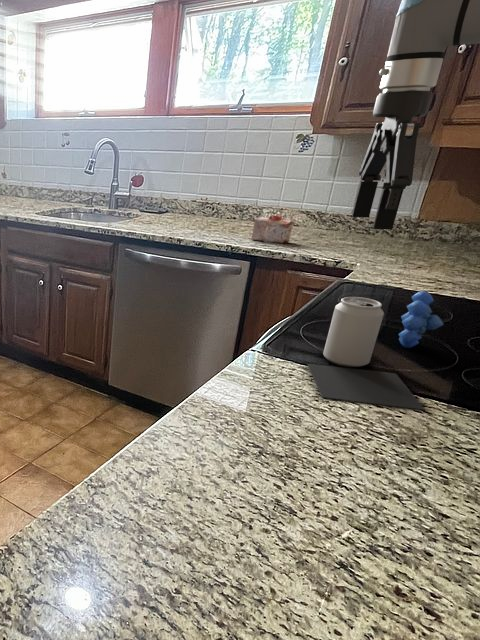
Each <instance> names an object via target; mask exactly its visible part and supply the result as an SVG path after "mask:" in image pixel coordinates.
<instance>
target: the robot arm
mask: <svg viewBox="0 0 480 640" xmlns="http://www.w3.org/2000/svg"><path fill="white" fill-rule="evenodd" d="M398 7H399V8H398V11H397V13H396V14H395V20H394V26H393V29H392V33H391V39H390V43H389V46H388V51H387V56H386V60H385V65H384V68H381V69H380V70H379V76H382V77H381V81H380V84H379V89H380V90H382V92H380V93H379V94H378V95H376V99H375V103H374V106H373V111H372V117H374V118H384V120H383V122H377V123H376V124H375V126H374V131H373V134H372V137H371V140H370V142H369V145H368V148H367V150H366V153H365V155H364V158H363V161H362V163H361V166H360V168H359V170H358V172H357V173H358V177H359V178H360V179H359V180H360V181H359V186H358V190H357V194H356V198H355V201H354V206H353V209H352V212H351V213H352V214H351V217H352V218H364V219H365V218H366V219H367V218H368V219H369V218H370V214H371V211H372V207H373V203H374V201H375V196H376V192H377V189H378V184H379V182H381V181H382V175H381V172H382V171H383V169H384V167H385V164H386V167H385V168H386V169H385V172H386V173H385V182H383V183H382V185H381V186H380V189H381V194H380V197H379V202H378V205H377V208H376V213H375V215H374V216H375V217H374V221H373V223H372V229H373V230H387V231H388V230H390V231H392V230H393V228H394V225H395V222H396V218H397V214H398V210H399V207H400V204H401V200H402V197H403V193H404V190H405V189H406V187H410V186H411V185H412V183H413V175H414V168H415V158H416V149H417V140H418V135H419V132H420V128H421V123H420V122H413V118H417V117H418V118H420V117H425V116H426V115H428V113H429V109H430V105H431V102H432V99H433V96H434V93H433V91H431V88H434V87H435V86H437V84H438V80H439V76H440V73H441V69H442V65H443V62H444V57H445V51H446V50H447V48H448V47H451V46H454V47H457V46H466V45H479V44H480V0H401V2H400V4H399V6H398Z"/></svg>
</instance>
